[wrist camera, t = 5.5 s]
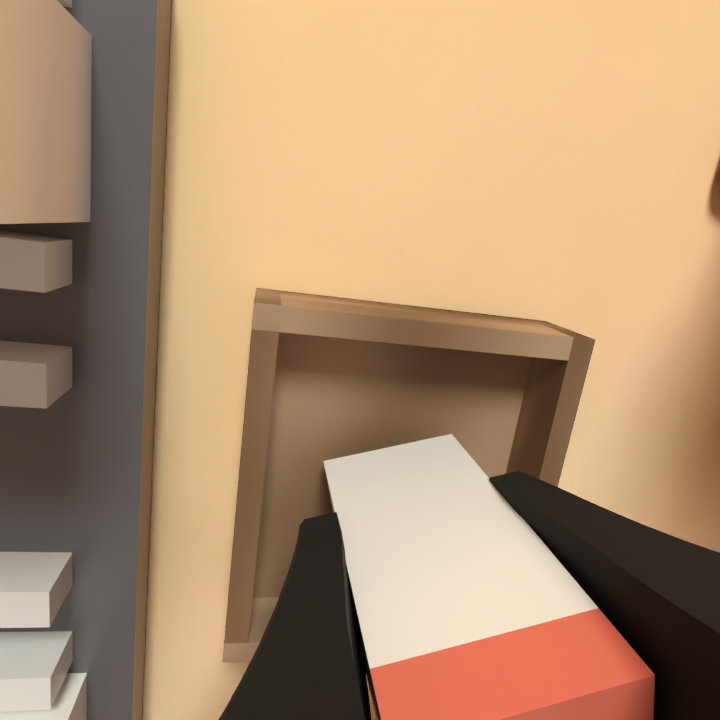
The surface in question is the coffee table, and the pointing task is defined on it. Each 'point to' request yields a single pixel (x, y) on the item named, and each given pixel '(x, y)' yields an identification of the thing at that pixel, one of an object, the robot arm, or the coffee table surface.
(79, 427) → the block
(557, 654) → the red cap fuse
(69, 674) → the fuse slot
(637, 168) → the coffee table surface
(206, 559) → the coffee table surface
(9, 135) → the block
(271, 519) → the tray
